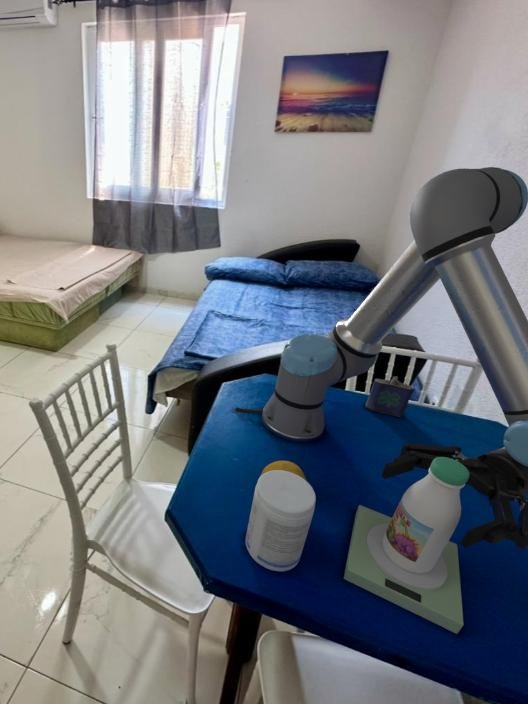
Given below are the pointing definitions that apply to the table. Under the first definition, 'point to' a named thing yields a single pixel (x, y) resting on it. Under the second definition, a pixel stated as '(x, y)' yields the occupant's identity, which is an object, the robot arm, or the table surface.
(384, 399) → the flask
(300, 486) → the supplement tub
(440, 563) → the scale
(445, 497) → the milk bottle
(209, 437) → the table surface
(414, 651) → the table surface
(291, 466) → the fruit
